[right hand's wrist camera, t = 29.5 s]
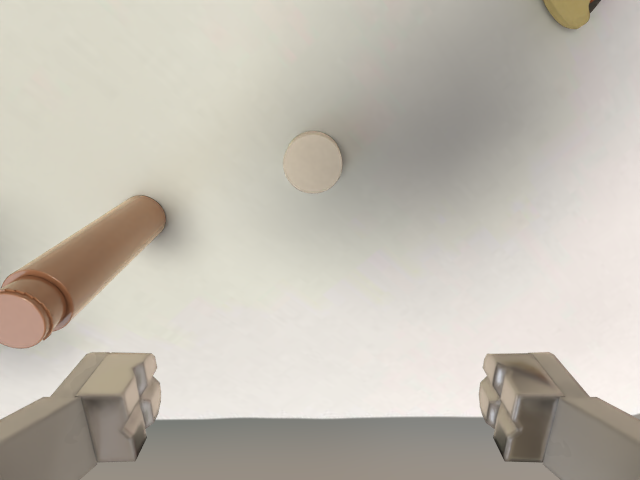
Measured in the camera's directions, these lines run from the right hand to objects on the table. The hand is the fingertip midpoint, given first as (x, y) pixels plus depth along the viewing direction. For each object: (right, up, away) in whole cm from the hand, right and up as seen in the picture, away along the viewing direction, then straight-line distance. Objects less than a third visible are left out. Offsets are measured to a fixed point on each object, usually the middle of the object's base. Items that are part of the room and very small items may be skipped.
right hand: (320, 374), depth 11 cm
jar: (-16, +5, +29) cm, 33 cm away
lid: (-1, +10, +25) cm, 27 cm away
